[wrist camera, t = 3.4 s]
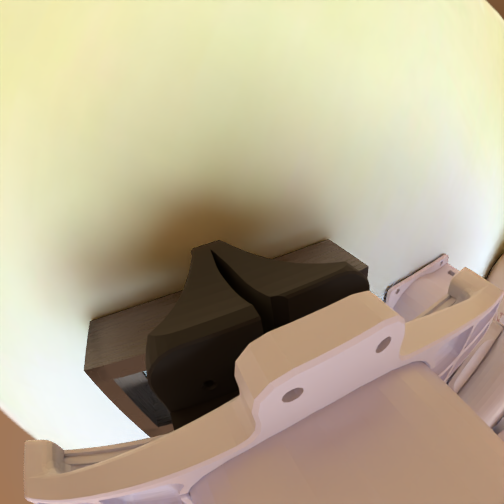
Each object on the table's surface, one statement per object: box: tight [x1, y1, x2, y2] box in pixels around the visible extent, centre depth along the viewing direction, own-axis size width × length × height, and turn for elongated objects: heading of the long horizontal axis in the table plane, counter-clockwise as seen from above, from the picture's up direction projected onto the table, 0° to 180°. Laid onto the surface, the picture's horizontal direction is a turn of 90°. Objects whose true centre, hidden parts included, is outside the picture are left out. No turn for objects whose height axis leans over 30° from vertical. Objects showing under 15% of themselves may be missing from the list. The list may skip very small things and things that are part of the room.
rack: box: [84, 239, 368, 437], centre depth 17 cm, size 14×20×4 cm
